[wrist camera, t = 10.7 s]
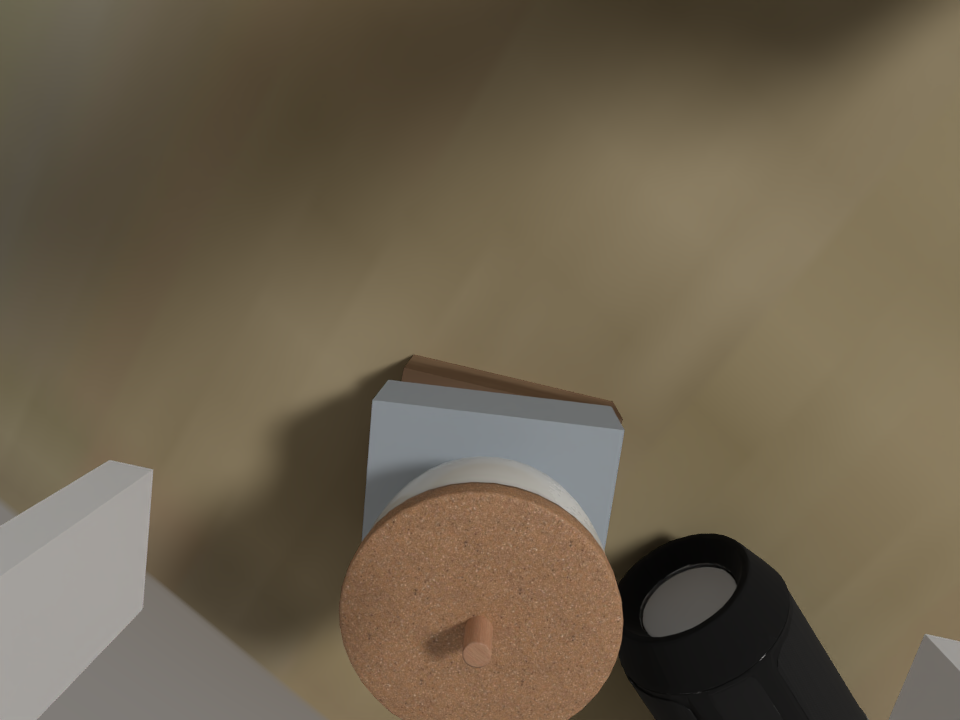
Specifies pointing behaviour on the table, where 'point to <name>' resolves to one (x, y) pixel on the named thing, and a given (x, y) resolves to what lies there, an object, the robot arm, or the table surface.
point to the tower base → (487, 382)
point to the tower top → (491, 441)
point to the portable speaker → (723, 639)
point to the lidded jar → (482, 598)
